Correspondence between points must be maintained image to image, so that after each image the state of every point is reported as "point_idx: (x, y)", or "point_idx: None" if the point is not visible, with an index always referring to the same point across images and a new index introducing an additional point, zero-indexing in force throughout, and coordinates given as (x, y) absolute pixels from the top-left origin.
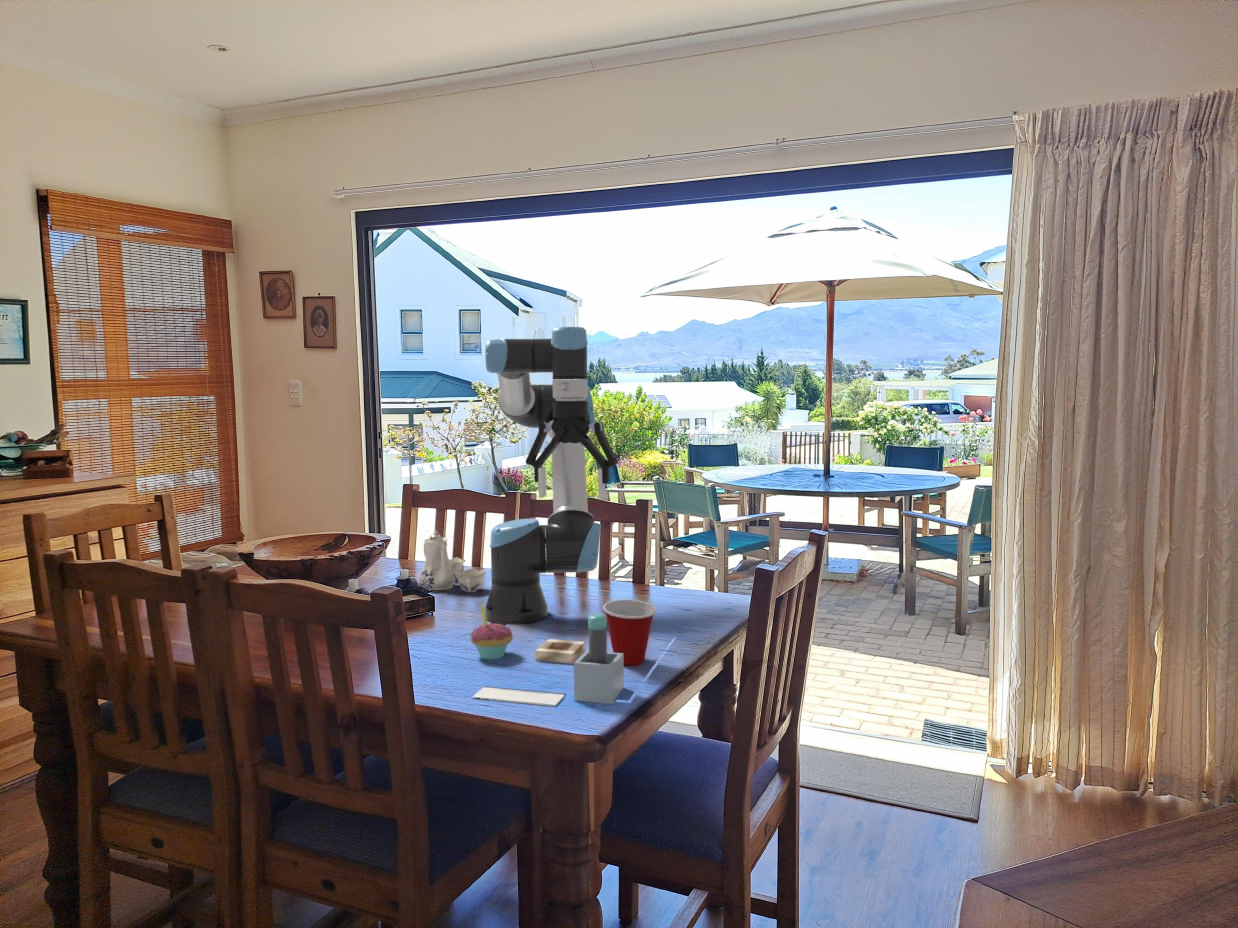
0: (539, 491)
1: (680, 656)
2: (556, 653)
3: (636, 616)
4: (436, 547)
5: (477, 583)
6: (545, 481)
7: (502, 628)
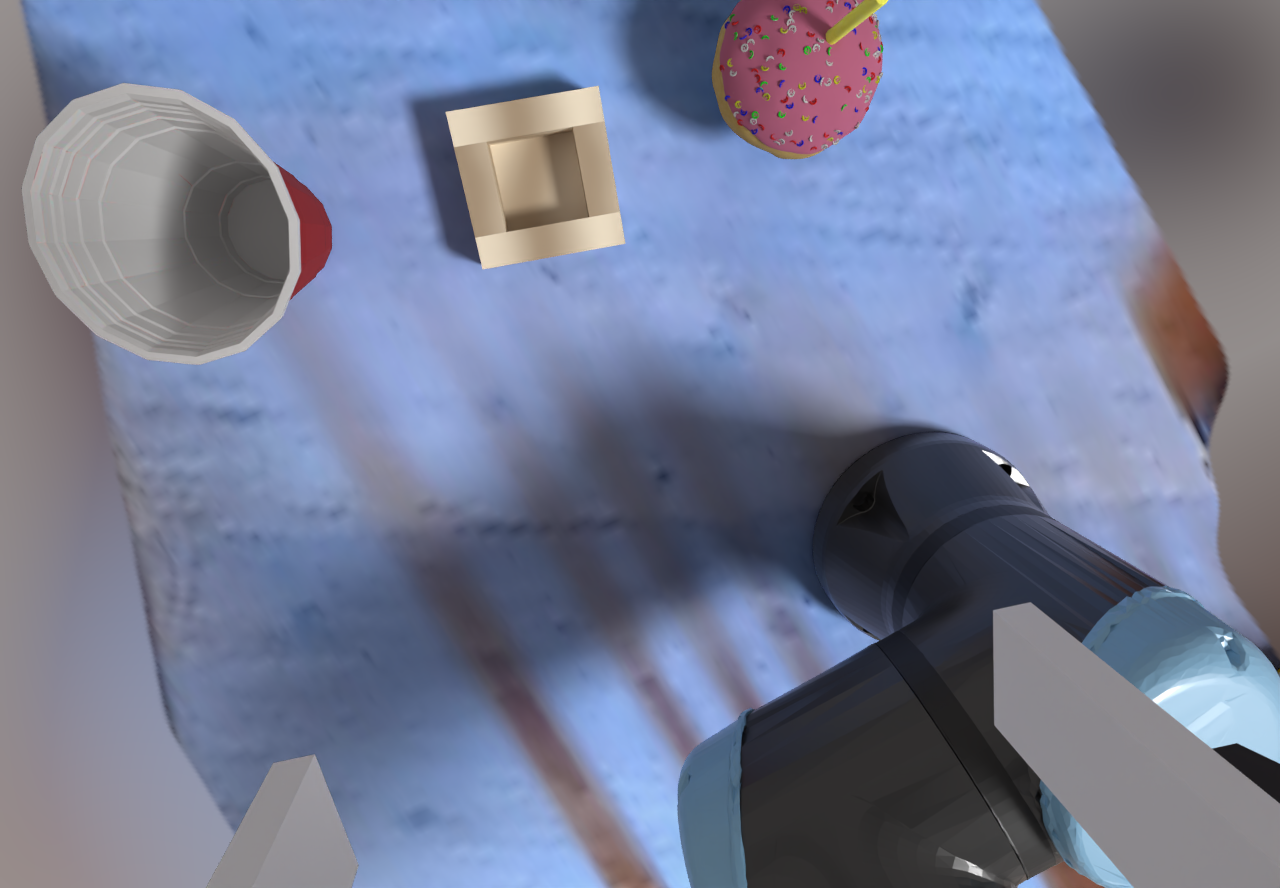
0: (1071, 646)
1: (162, 377)
2: (510, 101)
3: (56, 123)
4: None
5: None
6: (1118, 847)
7: (759, 64)
